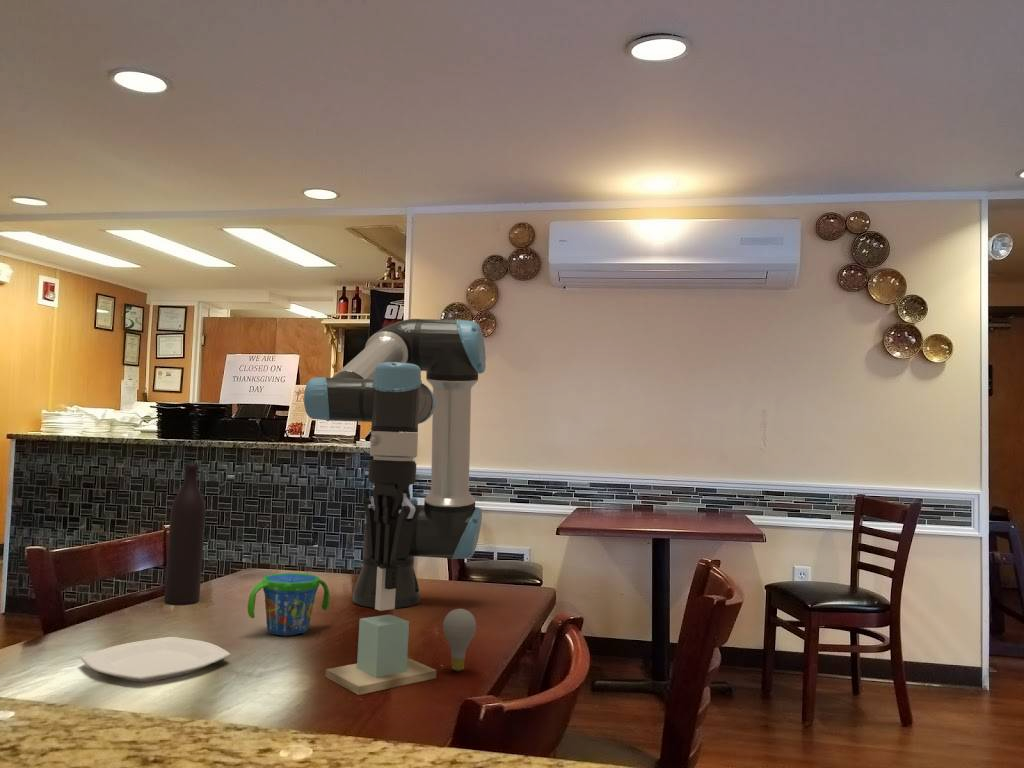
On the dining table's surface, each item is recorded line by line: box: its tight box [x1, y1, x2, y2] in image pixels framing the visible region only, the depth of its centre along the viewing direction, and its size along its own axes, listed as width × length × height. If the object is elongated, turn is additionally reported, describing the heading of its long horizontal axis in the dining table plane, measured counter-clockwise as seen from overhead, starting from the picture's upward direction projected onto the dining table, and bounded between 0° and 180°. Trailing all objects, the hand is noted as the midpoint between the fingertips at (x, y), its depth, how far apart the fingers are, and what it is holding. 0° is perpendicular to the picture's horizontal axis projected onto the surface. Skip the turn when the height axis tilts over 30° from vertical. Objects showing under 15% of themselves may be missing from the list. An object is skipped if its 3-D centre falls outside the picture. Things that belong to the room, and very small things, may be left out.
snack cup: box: [247, 572, 331, 637], centre depth 144 cm, size 16×10×10 cm
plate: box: [80, 636, 231, 683], centre depth 121 cm, size 19×19×2 cm
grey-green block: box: [356, 614, 410, 678], centre depth 119 cm, size 6×6×8 cm
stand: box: [325, 657, 437, 696], centre depth 119 cm, size 14×10×7 cm
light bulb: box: [442, 608, 477, 673], centre depth 124 cm, size 6×6×10 cm
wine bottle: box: [163, 462, 206, 606], centre depth 166 cm, size 7×7×30 cm
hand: (384, 608), depth 120 cm, fingers closed
